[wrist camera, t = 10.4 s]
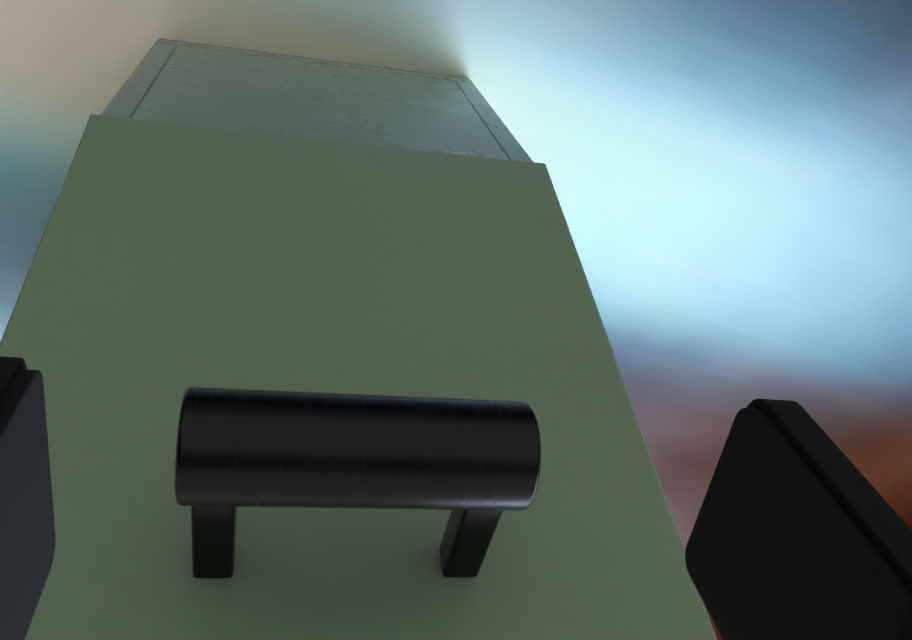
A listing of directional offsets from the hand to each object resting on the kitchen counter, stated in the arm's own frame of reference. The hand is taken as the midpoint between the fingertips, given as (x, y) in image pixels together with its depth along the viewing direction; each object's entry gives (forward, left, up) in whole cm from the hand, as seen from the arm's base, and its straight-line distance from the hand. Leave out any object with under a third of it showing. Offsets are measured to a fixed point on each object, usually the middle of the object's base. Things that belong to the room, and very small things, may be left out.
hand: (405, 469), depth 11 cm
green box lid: (0, +4, -9) cm, 10 cm away
